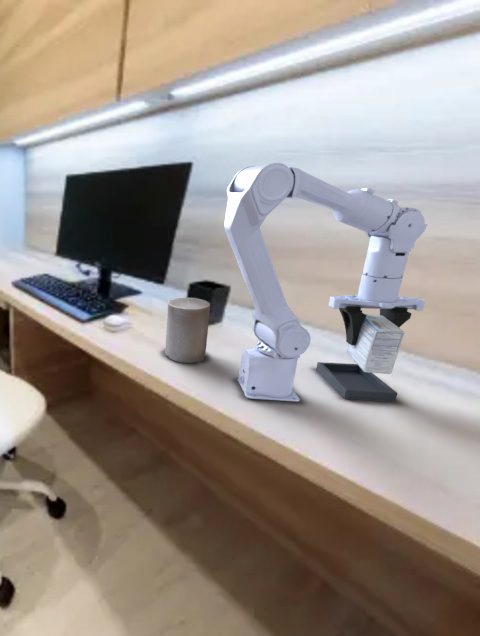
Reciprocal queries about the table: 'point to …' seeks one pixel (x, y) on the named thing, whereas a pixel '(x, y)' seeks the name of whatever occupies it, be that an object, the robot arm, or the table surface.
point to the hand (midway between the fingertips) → (365, 344)
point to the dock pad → (355, 382)
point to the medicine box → (376, 345)
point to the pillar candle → (187, 329)
